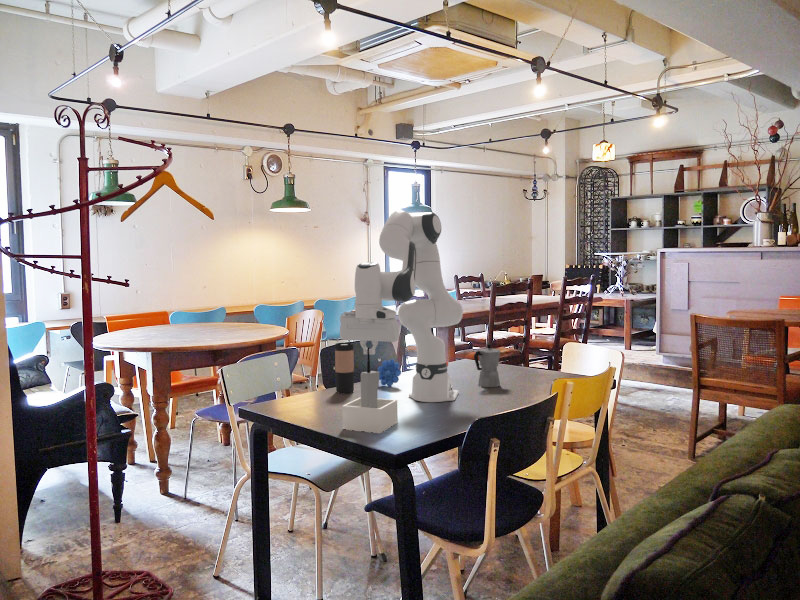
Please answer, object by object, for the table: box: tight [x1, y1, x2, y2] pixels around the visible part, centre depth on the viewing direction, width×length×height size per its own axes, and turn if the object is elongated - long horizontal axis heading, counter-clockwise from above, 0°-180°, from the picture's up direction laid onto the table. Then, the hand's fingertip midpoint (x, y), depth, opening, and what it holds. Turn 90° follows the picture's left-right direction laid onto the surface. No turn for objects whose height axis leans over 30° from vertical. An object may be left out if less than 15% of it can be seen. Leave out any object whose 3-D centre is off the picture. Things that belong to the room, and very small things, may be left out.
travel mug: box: [334, 342, 355, 394], centre depth 268 cm, size 8×8×20 cm
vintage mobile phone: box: [360, 347, 380, 408], centre depth 213 cm, size 4×5×25 cm
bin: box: [341, 396, 398, 434], centre depth 214 cm, size 14×14×8 cm
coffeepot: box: [473, 343, 501, 388], centre depth 276 cm, size 15×9×18 cm, turn 129°
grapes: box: [377, 358, 402, 387], centre depth 279 cm, size 12×7×12 cm, turn 61°
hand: (369, 354), depth 213 cm, fingers closed on vintage mobile phone
